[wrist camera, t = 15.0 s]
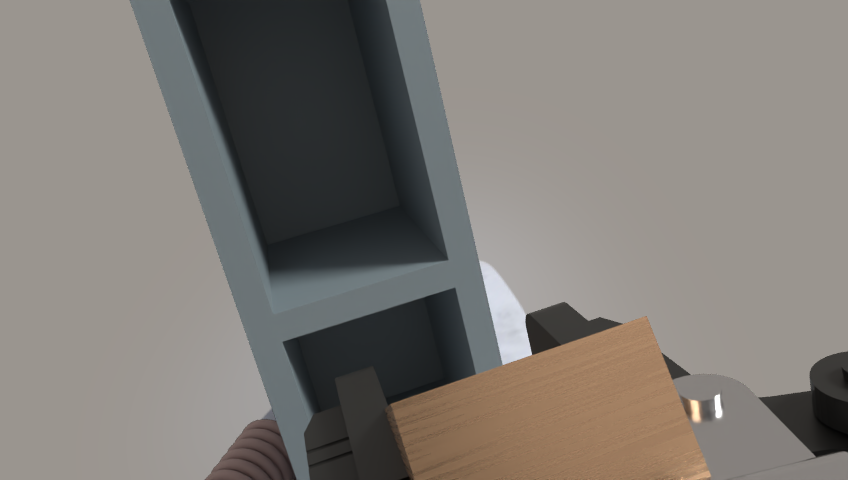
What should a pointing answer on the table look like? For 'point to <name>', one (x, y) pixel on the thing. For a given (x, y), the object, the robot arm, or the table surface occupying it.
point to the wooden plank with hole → (556, 417)
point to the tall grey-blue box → (326, 193)
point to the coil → (256, 455)
